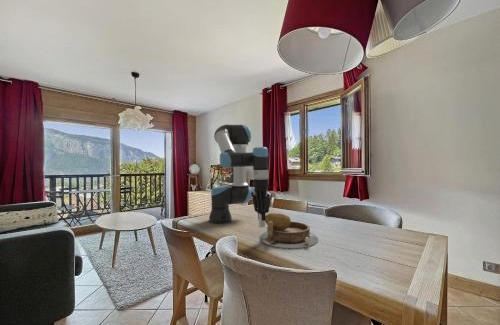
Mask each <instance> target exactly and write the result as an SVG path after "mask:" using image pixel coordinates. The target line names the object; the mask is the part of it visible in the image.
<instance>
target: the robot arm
mask: <svg viewBox="0 0 500 325" xmlns="http://www.w3.org/2000/svg"><path fill="white" fill-rule="evenodd" d="M213 135H214V136H213V137H214V140H215V143H216V144H217V145H218V147H219V151H220V154H219V166H220V167H221V168H233V182H232V183H231V186H229V185H228V184H225V185H219V186H214V187H212V188H211V191H210V192H211V193H210V197H211V200H210V201H211V211H210V214H209V217H208V222H209V223H211V224H226V223H229V222H232V219H233V218H232V214H231V211H230V205H244V204H249V202H250V200H251V197H252V203H253V209H254V211H255V212H256V213H257V220H258V227H259V228H264V227H266V222H265V216H266V215H267V214H269V213H270V212H269V211H270V206H271V201H272V200H271V199H272V196H273V193H270V192H269V183H270V182H269V180H270V179H269V178H270V177H269V149H268V148H267V147H266V146H256V147H253V148H252V151H251V152H247V147H248V146H249V143H250V142H251V141H252V133H251V128H250V127H249V125H246V124H224V125H220V126H219V127H217V128H216V129H215V132H214V134H213ZM249 167H250V168H252V171H253V172H252V175H253V176H252V177H253V181H252V182H253V187H254V188H253V191H252V189H251V187H250V186H249V183H248V182H247V168H249Z"/></svg>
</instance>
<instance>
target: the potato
mask: <svg viewBox="0 0 500 325" xmlns="http://www.w3.org/2000/svg"><path fill="white" fill-rule="evenodd" d="M269 221H272V222H273V230H277V231H281V230H285V229H287V228H288V227H289V226H290V223H291V222H292V220H291V218H290V216H289V215H287V214H283V213H280V212H279V213H276V212H273V213H272V212H269V213H266V214H265V225H267V226H268V222H269Z"/></svg>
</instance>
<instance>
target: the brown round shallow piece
mask: <svg viewBox="0 0 500 325" xmlns="http://www.w3.org/2000/svg"><path fill="white" fill-rule="evenodd" d="M266 228H267V229H266V230H267V231H266V232H268V237H267V238H266V242H269V243H271V242H274V241H281V242H301V241H305V237H308V238H309V237H310V233H311V232H310V231H311V230H310V226H309V225H308V224H306V223H304V222H299V221H291V223H290V226H289V227H288V228H287V229H285V230H281V231H277V230H273V222H272V221H269V222H268V225H267V227H266Z"/></svg>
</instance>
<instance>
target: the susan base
mask: <svg viewBox="0 0 500 325" xmlns="http://www.w3.org/2000/svg"><path fill="white" fill-rule="evenodd" d="M267 237H268V232H267V231H265V232H263V233H261V234H260V237H259V240H260V241H261V242H262V243H263V244H265V245H268V246H271V247H275V248H278V249H279V248H280V249H292V250H293V249H295V250H296V249H304V248H308V247H312V246H314V245H316V244H317V243H318V242H319V237H318V236H317V235H316V234H314V233H311V232H310V237H309V238H308V237H305V241H301V242H281V241H274V242H271V243H269V242H266V238H267Z"/></svg>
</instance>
